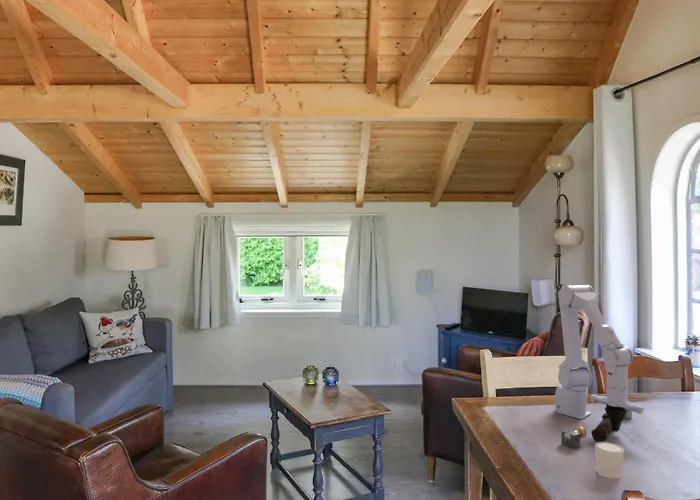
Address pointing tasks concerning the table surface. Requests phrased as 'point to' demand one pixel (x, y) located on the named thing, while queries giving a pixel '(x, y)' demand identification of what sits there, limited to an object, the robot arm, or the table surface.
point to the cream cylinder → (609, 459)
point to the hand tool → (602, 429)
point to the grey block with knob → (628, 415)
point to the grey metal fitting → (573, 437)
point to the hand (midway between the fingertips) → (615, 430)
